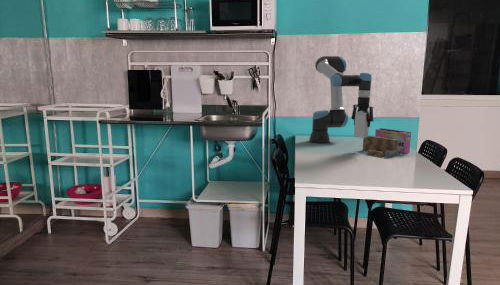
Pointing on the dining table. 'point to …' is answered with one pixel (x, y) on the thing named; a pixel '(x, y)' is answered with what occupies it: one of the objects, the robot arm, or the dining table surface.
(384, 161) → the dining table surface
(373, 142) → the walnut shelf
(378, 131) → the gum box
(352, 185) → the dining table surface
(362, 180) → the dining table surface
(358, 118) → the milk carton
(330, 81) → the robot arm
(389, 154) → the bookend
